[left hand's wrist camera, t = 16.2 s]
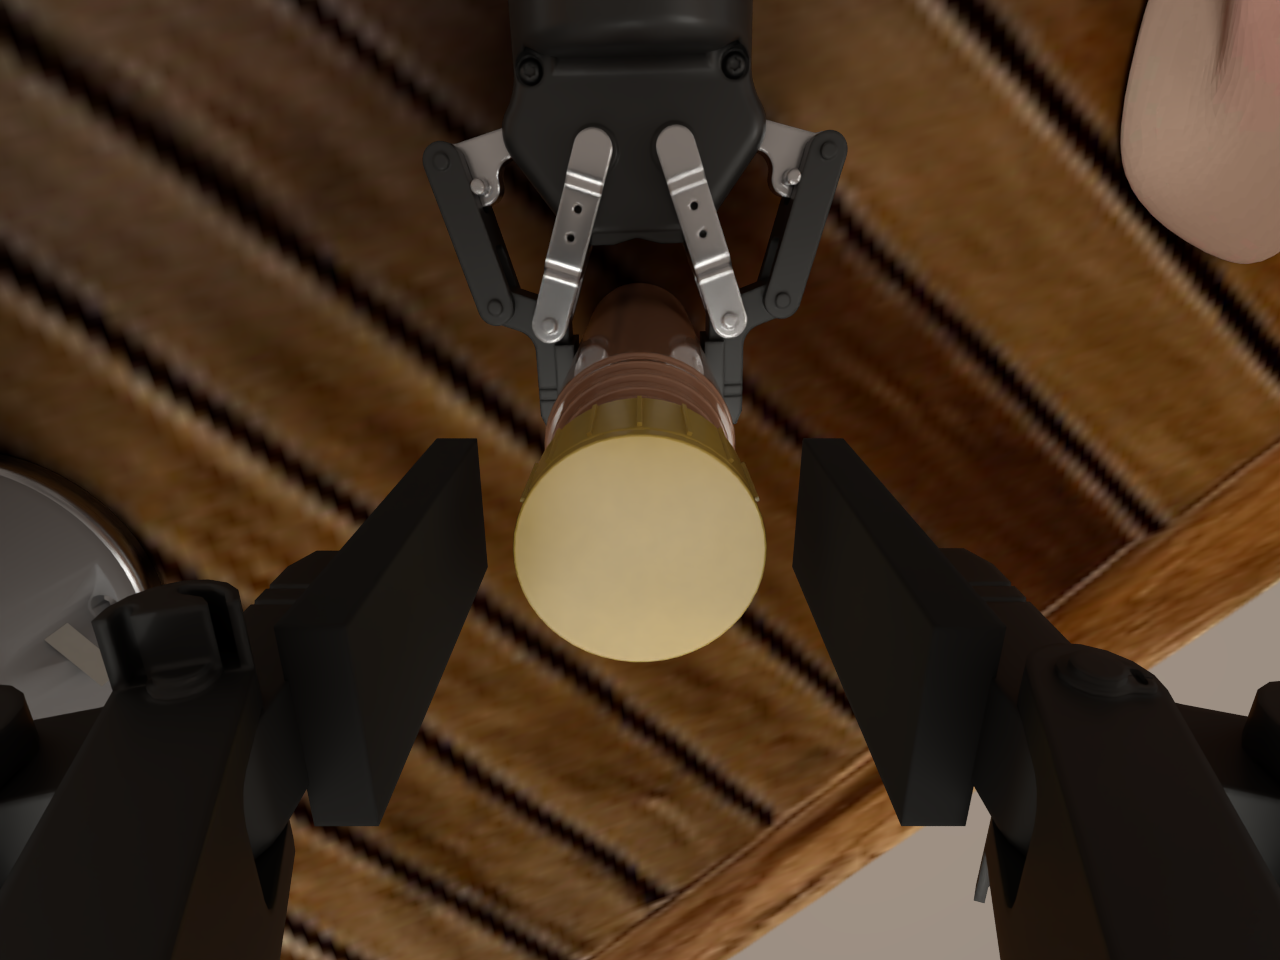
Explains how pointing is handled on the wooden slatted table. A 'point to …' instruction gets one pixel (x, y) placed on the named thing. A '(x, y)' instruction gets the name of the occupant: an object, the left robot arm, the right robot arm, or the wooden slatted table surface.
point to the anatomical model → (1208, 124)
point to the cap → (639, 532)
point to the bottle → (639, 360)
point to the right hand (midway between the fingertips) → (642, 433)
